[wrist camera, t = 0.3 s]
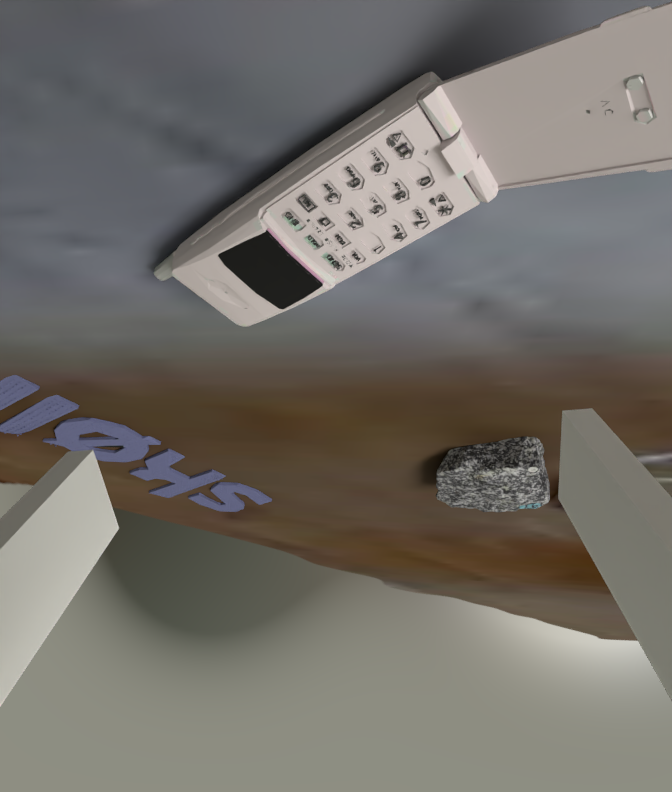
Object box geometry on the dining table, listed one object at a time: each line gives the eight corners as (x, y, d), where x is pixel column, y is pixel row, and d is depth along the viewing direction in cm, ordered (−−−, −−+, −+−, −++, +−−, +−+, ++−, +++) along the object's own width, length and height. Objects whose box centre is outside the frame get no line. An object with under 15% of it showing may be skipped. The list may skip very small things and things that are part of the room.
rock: (422, 446, 48) (425, 491, 46) (545, 431, 46) (555, 479, 43) (437, 481, 54) (440, 522, 52) (545, 469, 52) (554, 513, 49)
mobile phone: (739, 152, 18) (211, 393, 31) (682, 60, 21) (226, 313, 34) (710, -26, 14) (119, 336, 27) (645, -105, 17) (146, 252, 30)
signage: (276, 501, 58) (211, 519, 64) (277, 495, 59) (212, 513, 64) (14, 375, 40) (-49, 415, 45) (17, 367, 40) (-45, 407, 45)
